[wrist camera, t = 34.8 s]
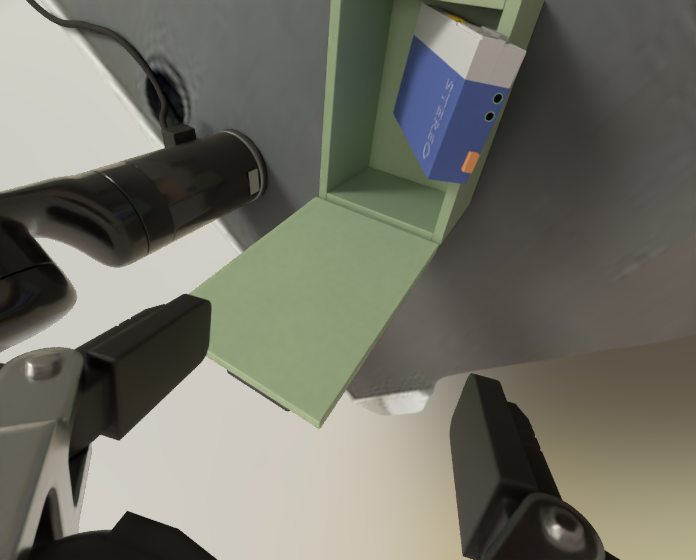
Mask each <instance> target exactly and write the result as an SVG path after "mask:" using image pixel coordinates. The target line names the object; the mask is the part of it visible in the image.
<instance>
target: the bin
mask: <svg viewBox="0 0 696 560" xmlns="http://www.w3.org/2000/svg"><path fill="white" fill-rule="evenodd" d="M422 3H425V4H429V5H433V6H438V7H440V8H442V9H444V10H446V11H448V12H450V13H452V14H455V15H457V16H459V17H461V18H463V19H465V20H467V21H469V22H471V23H473V24H475V25H477V26H479V27H482V26H485V27H489V28H491V29H493V30H495V31H497V32H499V33H501V34H503V35H505V36H507V39H506V42H505V44H509V42H510V43H511V44H513V45H515V46H517V47H519V48H521V49H523V50H525V51H526V49H527V47H528V44H529V41H530V39H531V36H532V33H533V30H534V28H535V25H536V22H537V19H538V17H539V14H540V11H541V9H542V6H543V3H544V0H331V7H330V23H329V40H328V56H327V73H326V89H325V106H324V122H323V139H322V155H321V172H320V188H319V198H320V199H323V200H325V201H328V202H331V203H333V204H336V205H338V206H341V207H343V208H346V209H349V210H351V211H354V212H356V213H359V214H362V215H364V216H367V217H369V218H372V219H374V220H377V221H380V222H382V223H385V224H387V225H390V226H392V227H395V228H398V229H400V230H403V231H405V232H408V233H410V234H413V235H416V236H418V237H421V238H423V239H426V240H428V241H431V242H434V243H436V244H438V245H441V243H442V242H443V241H444V239H445V238H446V236H447V235H448V234H449V232H450V231H451V230H452V228H453V227H454V225H455V224H456V223H457V221H458V220H459V218H460V217H461V216H462V214H463V213H464V212H465V210H466V209H467V207H468V206H469V204H470V202H471V199H472V196H473V194H474V191H475V188H476V185H477V183H478V180H479V177H480V175H481V172H482V169H483V166H484V164H485V161H486V158H487V156H488V153H489V150H490V147H491V145H492V142H493V139H494V136H495V134H496V131H497V128H498V126H499V123H500V120H501V117H502V115H503V112H504V109H505V107H506V104H507V101H508V98H509V96H510V93H511V90H512V88H513V85H514V82H515V79H516V77H517V74H518V72H517V74H516V76H515V78H514V80H513V82H512V85H511V87H510V90H509V92H508V94H507V96H506V99H505V101H504V103H503V105H502V107H501V109H500V112H499V114H498V116H497V118H496V120H495V122H494V125H493V127H492V129H491V131H490V133H489V135H488V137H487V140H486V142H485V144H484V146H483V148H482V150H481V153H480V156H479V158H478V160H477V163H476V165H475V167H474V169H473V171H472V173H471V174H470V176H469V179H468V181H467V183H466V184H459V183H452V182H444V181H437V180H430V179H427V177H426V175H425V173H424V171H423V169H422V167H421V166H420V164H419V162H418V160H417V158H416V156H415V154H414V152H413V150H412V148H411V147H410V145H409V143H408V141H407V139H406V137H405V135H404V133H403V131H402V129H401V128H400V126H399V124H398V122H397V120H396V118H395V116H394V114H393V111H394V107H395V103H396V100H397V96H398V92H399V88H400V85H401V81H402V77H403V73H404V70H405V66H406V62H407V58H408V54H409V51H410V47H411V43H412V39H413V36H414V31H415V28H416V24H417V20H418V16H419V13H420V9H421V5H422ZM520 66H521V65H520ZM519 68H520V67H519ZM518 71H519V69H518Z"/></svg>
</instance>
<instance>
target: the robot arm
mask: <svg viewBox="0 0 696 560" xmlns="http://www.w3.org/2000/svg"><path fill="white" fill-rule="evenodd" d="M26 1H27V2H28V3H29V4H30V5H31V6H33V7H34V8H35V9H36V10H37V11H38V12H39V13H41V14H42V15H43V16H44V17H46V18H47V19H49V20H50V21H52V22H54V23H56V24H58V25H60V26H63V27H68V28H83V29H87V30H90V31H93V32H96V33H100V34H104V35H107V36H109V37H111V38H113V39H114V40H116V41H117V42H118V43H120V44H121V45H122V46H123V47H124V48H125V49H126V50H127V51H128V52H129V53H130V54H131V55H132V56H133V58H134V59H135V60H136V61H137V62H138V63H139V65H140V66H141V67H142V69H143V70H144V71H145V73H146V74H147V76H148V77H149V79H150V80H151V82H152V84H153V85H154V87H155V89H156V91H157V93H158V96H159V98H160V101H161V104H162V108H161V112H160V115H159V121H160V126H161V128H162V129H161V132H162V136H163V141H164V145H165V148H164V149H161V150H157V151H154V152H151V153H147V154H144V155H141V156H137V157H134V158H130V159H128V160H124V161H120V162H118V163H115V164H111V165H107V166H104V167H101V168H98V169H94V170H91V171H87V172H84V173H81V174H77V175H72V176H64V177H57V178H52V179H47V180H43V181H40V182H36V183H32V184H29V185H25V186H21V187H17V188H13V189H9V190H5V191H1V192H0V352H2V351H4V350H6V349H8V348H10V347H12V346H14V345H16V344H18V343H20V342H22V341H24V340H27V339H28V338H31V337H32V336H34V335H36V334H38V333H40V332H41V331H43V330H45V329H47V328H48V327H50V326H51V325H53V324H54V323H56V322H58V321H59V320H60V319H62V318H63V317H64V316H65V315H66V314H67V313H68V312H69V311H70V310H71V309H72V308H73V306H74V304H75V302H76V300H77V294H76V290H75V289H74V287H73V285H72V283H71V282H70V280H69V279H68V278H67V276H66V275H65V274H64V272H63V271H62V270H61V269H60V268H59V266H57V265H56V263H55V262H54V261H53V260H52V258H51V257H50V256H49V255H48V254H47V253H46V251H45V250H44V249H43V248H42V247H41V246H40V244H39V243H38V242H37V241H36V240H35V239H34V238H48V239H52V240H55V241H59V242H62V243H64V244H67V245H69V246H72V247H74V248H76V249H78V250H79V251H81V252H83V253H85V254H86V255H88V256H90V257H91V258H93V259H95V260H97V261H98V262H100V263H102V264H104V265H106V266H110V267H114V268H120V267H124V266H127V265H130V264H132V263H134V262H136V261H137V260H139V259H141V258H143V257H145V256H147V255H149V254H151V253H153V252H155V251H157V250H159V249H161V248H163V247H165V246H166V245H168V244H170V243H172V242H174V241H176V240H178V239H180V238H182V237H183V236H185V235H187V234H189V233H191V232H193V231H195V230H197V229H199V228H201V227H203V226H205V225H207V224H209V223H211V222H212V221H214V220H216V219H218V218H220V217H222V216H224V215H226V214H228V213H230V212H232V211H234V210H236V209H238V208H239V207H241V206H243V205H245V204H247V203H250V202H253V201H255V200H257V199H258V198H260V197H261V196H262V195H263V193H264V191H265V188H266V182H267V177H266V170H265V166H264V163H263V160H262V158H261V155H260V153H259V152H258V150H257V148H256V147H255V146H254V144H253V143H252V142H251V141H250V140H249V139H248V138H247V137H246V136H245V135H243V134H242V133H240V132H238V131H236V130H232V129H226V130H222V131H219V132H216V133H215V134H211V135H208V136H205V137H201V138H198V139H196V134H195V129H194V128H192V127H189V126H186V125H183V124H181V125H177V126H173V127H169V128H168V126H167V123H166V117H167V113H168V102H167V99H166V96H165V94H164V92H163V90H162V88H161V86H160V84H159V83H158V81H157V79H156V77H155V76H154V74H153V72H152V71H151V69H150V68H149V66H148V65H147V64H146V62H145V61H144V60H143V59H142V57H141V56H140V55H139V54H138V53H137V52H136V50H135V49H134V48H133V47H132V46H131V45H130V44H129V43H128V42H127V41H126V40H125V39H123V38H122V37H121V36H120V35H118V34H117V33H115V32H113V31H111V30H109V29H107V28H104V27H101V26H97V25H93V24H89V23H86V22H83V21H67V20H62V19H59V18H57V17H55V16H53V15H51V14H50V13H49V12H47V11H46V10H44V9H43V8H42V7H41V6H40V5H38V4H37V3H36V2H35V1H34V0H26ZM211 311H212V306H211V302H210V301H209V300H207V299H203V298H200V297H196V296H192V295H189V294H183V295H181V296H179V297H178V298H176V299H174V300H173V301H171V302H169V303H167V304H166V305H165V304H163V305H159V306H156V307H152V308H148V309H145V310H143V311H142V312H140V313H138V314H136V315H135V316H133V317H131V319H127V320H126V321H124V322H122V323H120V324H119V326H115V327H113V328H111V329H110V330H108V331H106V332H105V333H103V334H101V335H99V336H97V337H96V338H94V339H92V340H90V341H88V342H87V343H85V344H83V345H82V346H80V347H78V348H76V349H74V350H73V349H70V348H62V347H52V348H43V349H38V350H34V351H30V352H27V353H24V354H22V355H19V356H17V357H15V358H13V359H12V360H10V361H9V362H7V363H6V364H2V363H0V560H217V559H216V558H215V557H213V556H212V555H210V554H209V553H208V552H207V551H206V550H204V549H203V548H202V547H200V546H199V545H198V544H197V543H195V542H194V541H193V540H192V539H190V538H189V537H188V536H187V535H185V534H184V533H183V532H182V531H180V530H179V529H177V528H174V527H171V526H168V525H165V524H163V523H160V522H157V521H154V520H151V519H148V518H145V517H142V516H140V515H137V514H134V513H132V512H129V511H127V512H126V513H125V514H124V516H123V517H122V518H121V519H120V521H119V522H118V523H117V524H116V525H115V527H114V528H113V529H112V530H98V531H89V532H83V533H78V530H79V520H80V514H81V509H82V503H83V498H84V492H85V487H86V481H87V476H88V470H89V465H90V459H91V454H92V443H91V442H92V441H94V440H95V439H96V438H97V437H98V436H99V435H104V436H107V437H110V438H113V439H116V440H120V439H122V437H124V436H125V435H126V434H127V433H128V432H129V431H130V430H131V429H132V428H133V427H134V426H135V425H136V424H137V423H138V422H139V421H140V420H141V419H142V418H143V417H145V416H146V415H147V414H148V413H149V412H150V411H151V410H152V409H153V408H154V407H155V406H156V405H157V404H158V403H159V402H160V401H161V400H162V399H163V398H165V396H166V395H167V394H169V393H170V392H171V391H172V390H173V389H174V388H175V387H176V386H177V385H178V384H179V383H180V382H181V381H182V380H183V379H184V378H185V377H186V376H188V374H190V373H191V372H192V371H193V370H194V369H195V368H196V367H197V366H198V365H199V364H200V363H201V362H202V361H203V359H204V358H205V356H206V354H207V351H208V348H209V343H210V327H211ZM450 444H451V453H452V462H453V472H454V481H455V489H456V499H457V508H458V516H459V526H460V535H461V544H462V554H463V556H464V557H467V558H470V559H473V560H620V559H618V558H616V557H615V556H613V555H611V554H610V553H608V552H607V551H605V550H604V547H603V544H602V542H601V539H600V537H599V536H598V534H597V532H596V531H595V529H594V528H593V527H592V525H591V524H590V523H589V522H588V521H587V519H586V518H585V517H584V516H583V515H582V514H580V513H579V512H578V511H577V510H576V509H575V508H573V507H572V506H571V505H569V504H568V503H566V502H564V501H563V500H562V498H561V496H560V494H559V492H558V489H557V486H556V484H555V482H554V479H553V477H552V475H551V472H550V470H549V468H548V465H547V462H546V460H545V458H544V455H543V453H542V452H541V451H540V446H539V443H538V441H537V438H535V434H534V431H533V429H532V426H531V424H530V422H529V419H528V418H527V417H526V416H525V415H524V413H523V412H522V411H521V410H520V409H519V408H518V406H517V405H516V404H515V403H511V402H507V400H506V397H505V395H504V392H503V389H502V386H501V384H500V382H499V381H498V380H495V379H491V378H487V377H484V376H480V375H477V374H473V373H471V374H470V375H469V377H468V379H467V381H466V383H465V386H464V388H463V391H462V394H461V396H460V399H459V401H458V404H457V406H456V409H455V411H454V414H453V417H452V421H451V426H450Z"/></svg>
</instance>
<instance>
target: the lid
mask: <svg viewBox="0 0 696 560" xmlns="http://www.w3.org/2000/svg"><path fill="white" fill-rule="evenodd" d="M438 247H439V245H438V244H436V243H434V242H431V241H428V240H426V239H423V238H421V237H418V236H416V235H413V234H410V233H408V232H405V231H403V230H400V229H398V228H395V227H392V226H390V225H387V224H385V223H382V222H380V221H377V220H374V219H372V218H369V217H367V216H364V215H362V214H359V213H356V212H354V211H351V210H349V209H346V208H343V207H341V206H338V205H336V204H333V203H331V202H328V201H325V200H323V199H320V198H318V197H315V198H313V199H312V200H311V201H309V202H308V203H307V204H306V205H304V206H303V207H302V208H300V209H299V210H298V211H296V212H295V213H294V214H292V215H291V216H290V217H289V218H287V219H286V220H285V221H283V222H282V223H281V224H279V225H278V226H277V227H275V228H274V229H273V230H272V231H270V232H269V233H268V234H266V235H265V236H264V237H262V238H261V239H260V240H259V241H257V242H256V243H255V244H253V245H252V246H251V247H249V248H248V249H247V250H245V251H244V252H243V253H242V254H240V255H239V256H238V257H237V258H235V259H234V260H232V261H231V262H230V263H229V264H227V265H226V266H225V267H223V268H222V269H221V270H219V271H218V272H217V273H215V274H214V275H213V276H212V277H210V278H209V279H208V280H206V281H205V282H204V283H202V284H201V285H200V286H199V287H197V288H196V289H195V290H193V291H192V292H191V293H189V295H192V296H196V297H200V298H203V299H207V300H209V301H210V302H211V306H212V311H211V327H210V343H209V348H208V351H207V354H206V356H207V357H208V358H210V359H211V360H213V361H215V362H216V363H218V364H219V365H221V366H223V367H224V368H226V369H227V372H228V373H229V374H230V375H232V376H233V377H235V378H237V379H238V380H239V381H241V382H242V383H244V384H245V385H247V386H249V387H250V388H252V389H253V390H255V391H256V392H258V393H259V394H261V395H262V396H264V397H265V398H267V399H269V400H270V401H272V402H273V403H275V404H276V405H278V406H280V407H281V408H282V409H284V410H285V411H292V412H293V413H295V414H297V415H298V416H300V417H301V418H303V419H304V420H306V421H308V422H309V423H311V424H312V425H314V426H315V427H317V428H319V429H320V428H321V427H322V425H323V424H324V422H325V420H326V419H327V417H328V416H329V414H330V413H331V411H332V410H333V408H334V407H335V405H336V404H337V402H338V401H339V399H340V398H341V396H342V395H343V393H344V392H345V390H346V389H347V387H348V386H349V384H350V383H351V381H352V380H353V378H354V377H355V375H356V374H357V372H358V371H359V369H360V367H361V366H362V364H363V363H364V361H365V360H366V358H367V357H368V355H369V354H370V352H371V351H372V349H373V348H374V346H375V345H376V343H377V342H378V340H379V339H380V337H381V336H382V334H383V333H384V331H385V330H386V328H387V327H388V325H389V324H390V322H391V321H392V319H393V317H394V316H395V314H396V313H397V311H398V310H399V308H400V307H401V305H402V304H403V302H404V301H405V299H406V298H407V296H408V295H409V293H410V292H411V290H412V289H413V287H414V286H415V284H416V283H417V281H418V280H419V278H420V277H421V275H422V274H423V272H424V271H425V269H426V268H427V266H428V264H429V263H430V261H431V260H432V258H433V257H434V255H435V254H436V252H437V250H438Z"/></svg>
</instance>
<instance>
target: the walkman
mask: <svg viewBox="0 0 696 560" xmlns="http://www.w3.org/2000/svg"><path fill="white" fill-rule="evenodd" d="M506 39H507V36H505V35H503V34H501V33H499V32H497V31H495V30H493V29H491V28H489V27H485V26H482V27H479V26H477V25H475V24H473V23H471V22H469V21H467V20H465V19H463V18H461V17H459V16H457V15H455V14H452V13H450V12H448V11H446V10H444V9H442V8H440V7H438V6H433V5H429V4H425V3H422V5H421V9H420V13H419V16H418V20H417V24H416V28H415V31H414V36H413V39H412V43H411V47H410V51H409V54H408V58H407V62H406V66H405V70H404V73H403V77H402V81H401V85H400V88H399V92H398V96H397V100H396V103H395V107H394V111H393V114H394V116H395V118H396V120H397V122H398V124H399V126H400V128H401V129H402V131H403V133H404V135H405V137H406V139H407V141H408V143H409V145H410V147H411V148H412V150H413V152H414V154H415V156H416V158H417V160H418V162H419V164H420V166H421V167H422V169H423V171H424V173H425V175H426V177H427V179H430V180H437V181H444V182H452V183H459V184H466V183H467V181H468V179H469V176H470V174H471V173H472V171H473V169H474V167H475V165H476V163H477V160H478V158H479V156H480V153H481V150H482V148H483V146H484V144H485V142H486V140H487V137H488V135H489V133H490V131H491V129H492V127H493V125H494V122H495V120H496V118H497V116H498V114H499V112H500V109H501V107H502V105H503V103H504V101H505V99H506V96H507V94H508V92H509V90H510V87H511V85H512V82H513V80H514V78H515V76H516V74H517V72H518V69H519V67H520V65H521V63H522V61H523V59H524V56H525V54H526V52H527V51H525V50H523V49H521V48H519V47H517V46H515V45H513V44H511V43H510V42H509V44H505V42H506Z"/></svg>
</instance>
